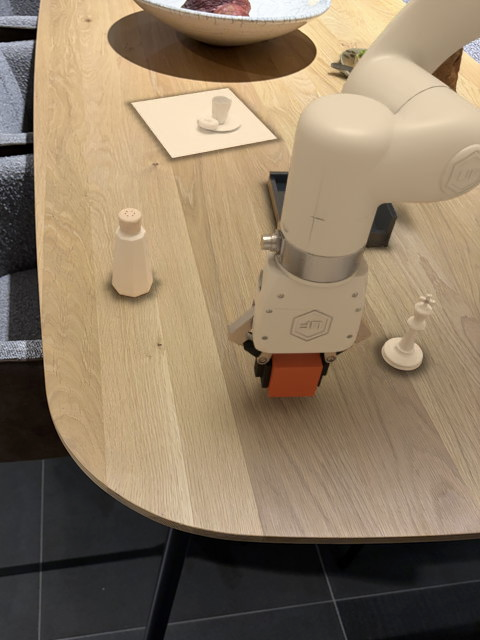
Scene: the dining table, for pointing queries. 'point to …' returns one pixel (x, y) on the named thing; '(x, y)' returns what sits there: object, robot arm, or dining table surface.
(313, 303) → the robot arm
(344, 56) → the salad plate
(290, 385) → the terracotta block
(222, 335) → the dining table surface
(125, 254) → the pepper shaker
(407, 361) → the chess piece
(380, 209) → the tipping dish
